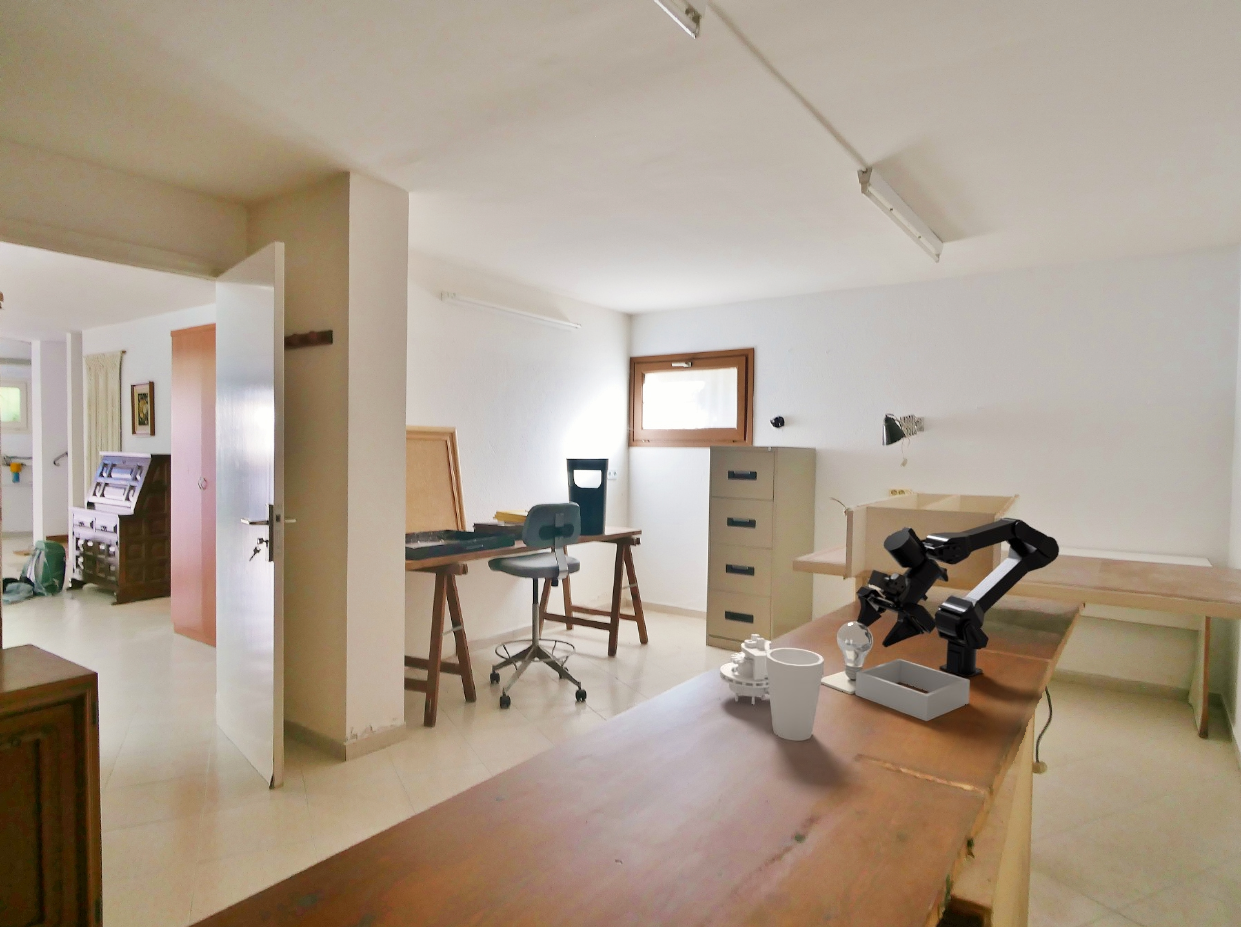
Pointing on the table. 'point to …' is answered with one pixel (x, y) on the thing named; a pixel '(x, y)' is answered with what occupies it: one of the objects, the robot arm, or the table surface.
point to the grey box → (884, 690)
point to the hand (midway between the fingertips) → (869, 639)
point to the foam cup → (793, 690)
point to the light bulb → (854, 646)
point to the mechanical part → (748, 669)
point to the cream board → (840, 682)
